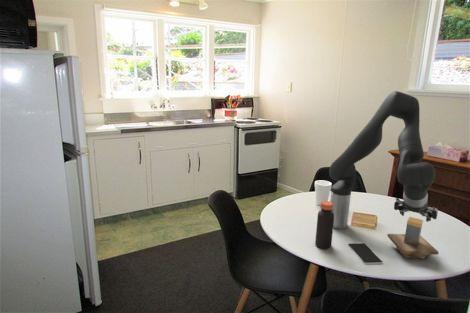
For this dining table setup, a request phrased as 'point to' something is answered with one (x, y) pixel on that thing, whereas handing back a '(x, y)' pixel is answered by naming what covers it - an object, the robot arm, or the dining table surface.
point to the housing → (413, 231)
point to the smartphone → (365, 253)
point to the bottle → (324, 225)
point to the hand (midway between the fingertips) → (415, 216)
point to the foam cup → (322, 191)
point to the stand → (412, 246)
